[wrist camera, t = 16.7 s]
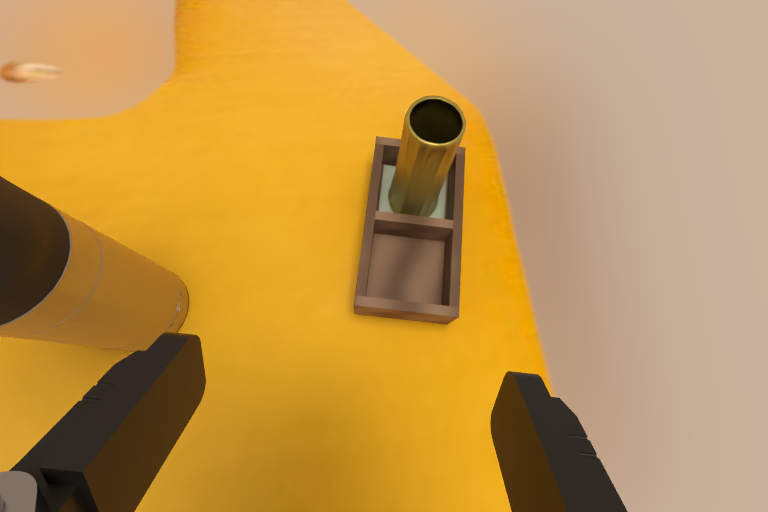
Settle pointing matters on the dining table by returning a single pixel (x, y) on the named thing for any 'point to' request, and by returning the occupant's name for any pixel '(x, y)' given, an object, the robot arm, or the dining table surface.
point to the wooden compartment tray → (411, 248)
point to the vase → (425, 154)
